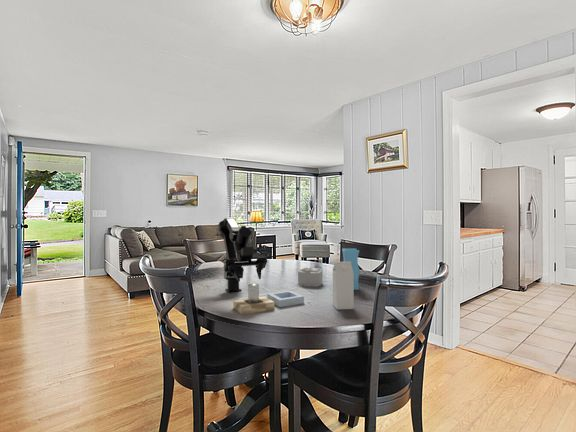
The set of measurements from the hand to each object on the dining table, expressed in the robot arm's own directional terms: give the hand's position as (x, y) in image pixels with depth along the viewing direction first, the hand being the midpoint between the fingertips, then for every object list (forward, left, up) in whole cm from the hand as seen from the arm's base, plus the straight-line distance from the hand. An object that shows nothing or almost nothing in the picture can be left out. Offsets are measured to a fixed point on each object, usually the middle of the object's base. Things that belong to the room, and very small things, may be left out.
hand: (249, 279), depth 141 cm
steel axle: (+5, 0, -11) cm, 12 cm away
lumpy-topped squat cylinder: (-21, +44, -11) cm, 50 cm away
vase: (-2, +57, -11) cm, 58 cm away
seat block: (+3, +16, -11) cm, 19 cm away
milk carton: (+22, +33, -11) cm, 41 cm away
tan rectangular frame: (+5, 0, -11) cm, 12 cm away
